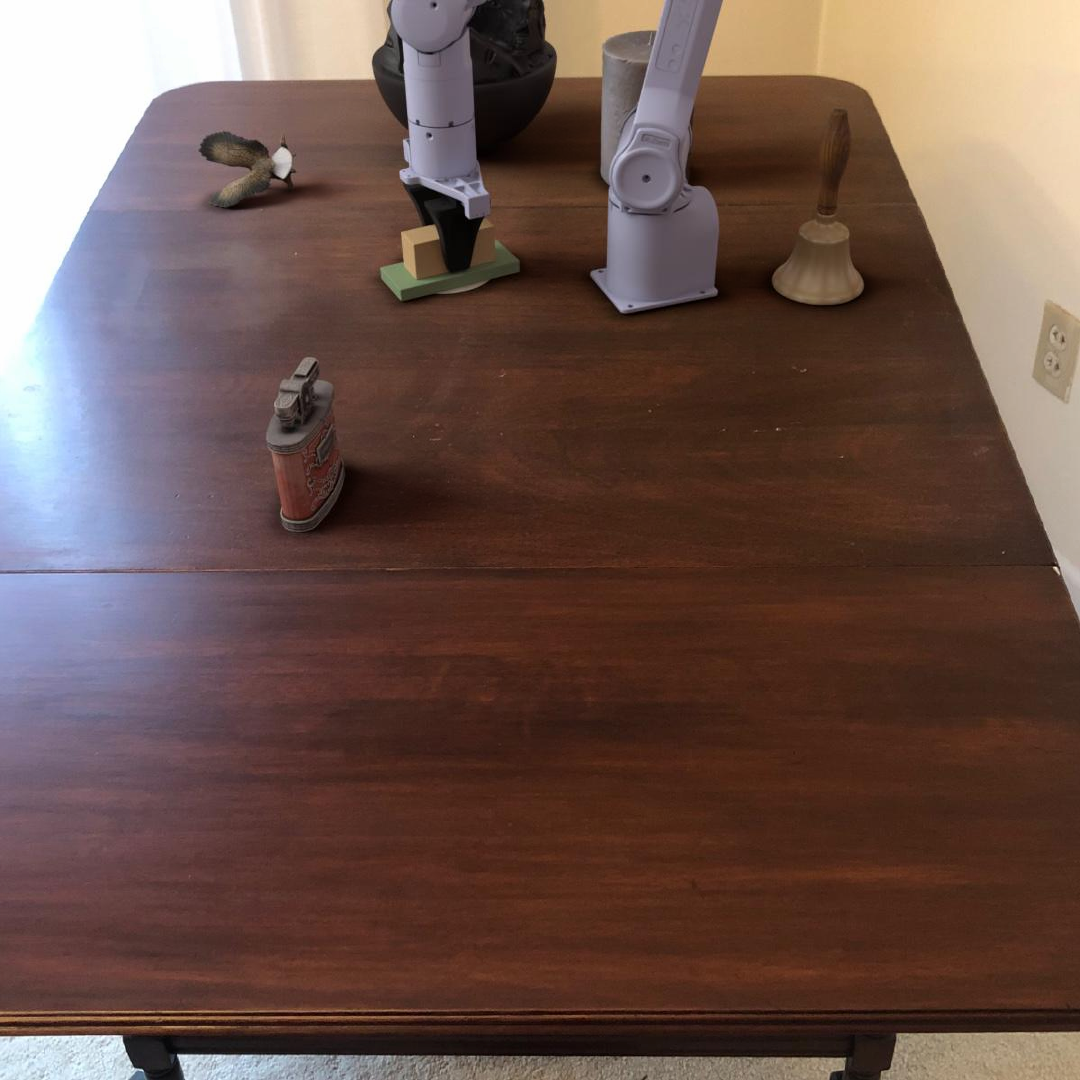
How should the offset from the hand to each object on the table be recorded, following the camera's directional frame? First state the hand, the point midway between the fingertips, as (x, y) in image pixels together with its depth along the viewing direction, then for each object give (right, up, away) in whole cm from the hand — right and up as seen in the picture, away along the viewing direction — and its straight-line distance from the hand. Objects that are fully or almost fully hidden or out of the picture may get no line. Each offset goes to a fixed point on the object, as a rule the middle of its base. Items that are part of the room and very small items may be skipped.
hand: (450, 260), depth 113 cm
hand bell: (+34, -3, -1) cm, 34 cm away
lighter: (-8, -23, -25) cm, 35 cm away
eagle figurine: (-22, +11, +16) cm, 29 cm away
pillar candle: (+19, +13, +18) cm, 30 cm away
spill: (-1, 0, +2) cm, 2 cm away
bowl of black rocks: (0, +19, +25) cm, 31 cm away
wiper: (0, -1, +1) cm, 2 cm away
